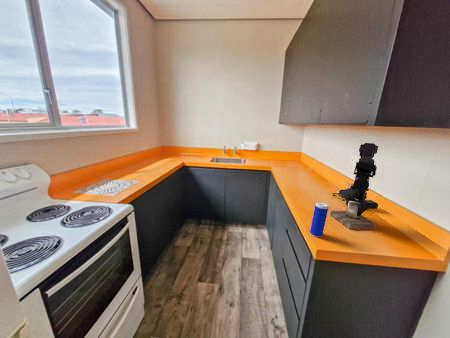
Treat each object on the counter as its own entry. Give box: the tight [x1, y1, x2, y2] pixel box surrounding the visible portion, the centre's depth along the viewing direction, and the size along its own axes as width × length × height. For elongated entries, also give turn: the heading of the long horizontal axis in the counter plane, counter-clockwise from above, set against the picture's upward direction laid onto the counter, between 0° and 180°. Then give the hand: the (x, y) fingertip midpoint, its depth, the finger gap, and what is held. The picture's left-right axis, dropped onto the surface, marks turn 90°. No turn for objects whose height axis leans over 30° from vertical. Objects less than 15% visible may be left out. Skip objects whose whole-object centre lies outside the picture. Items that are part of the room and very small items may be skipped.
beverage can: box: [309, 201, 329, 238], centre depth 81 cm, size 5×5×15 cm
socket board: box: [330, 209, 377, 230], centre depth 96 cm, size 14×14×3 cm
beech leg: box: [345, 201, 360, 219], centre depth 95 cm, size 6×6×10 cm
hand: (353, 213), depth 95 cm, fingers closed on beech leg, 6 cm apart
